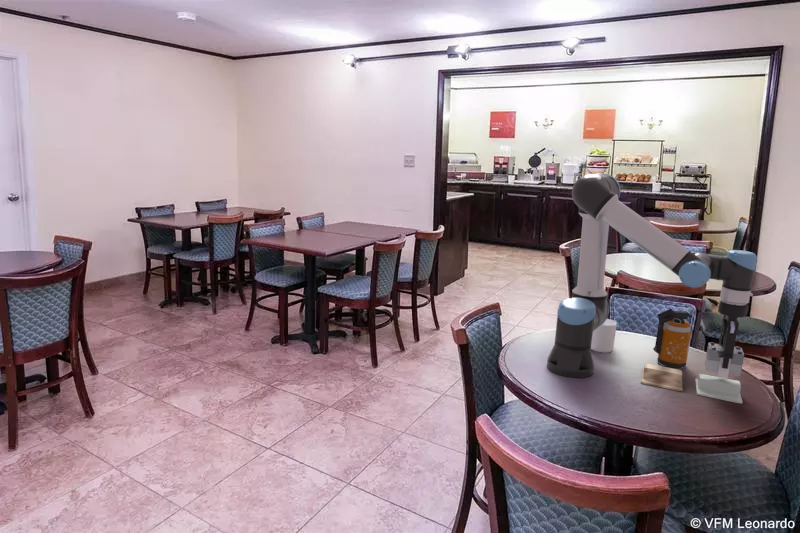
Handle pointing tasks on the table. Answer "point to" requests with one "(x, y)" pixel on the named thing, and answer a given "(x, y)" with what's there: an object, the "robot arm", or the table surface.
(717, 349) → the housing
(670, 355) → the canister
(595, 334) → the mug
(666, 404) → the table surface
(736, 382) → the stand
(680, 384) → the stand
